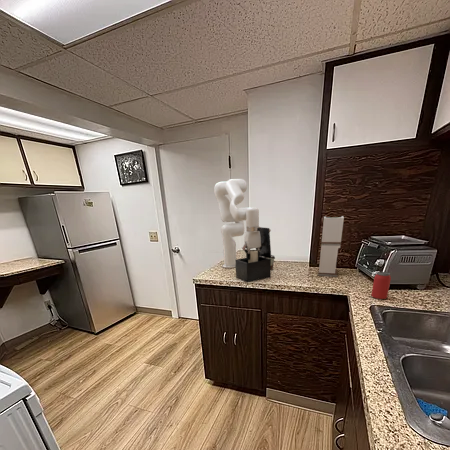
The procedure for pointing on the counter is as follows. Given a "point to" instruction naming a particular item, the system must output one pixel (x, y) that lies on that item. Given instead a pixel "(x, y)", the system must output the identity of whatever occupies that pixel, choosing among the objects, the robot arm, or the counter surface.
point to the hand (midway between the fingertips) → (253, 258)
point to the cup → (253, 256)
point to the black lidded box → (253, 269)
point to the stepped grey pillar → (330, 245)
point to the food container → (271, 261)
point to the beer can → (381, 285)
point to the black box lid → (265, 242)
